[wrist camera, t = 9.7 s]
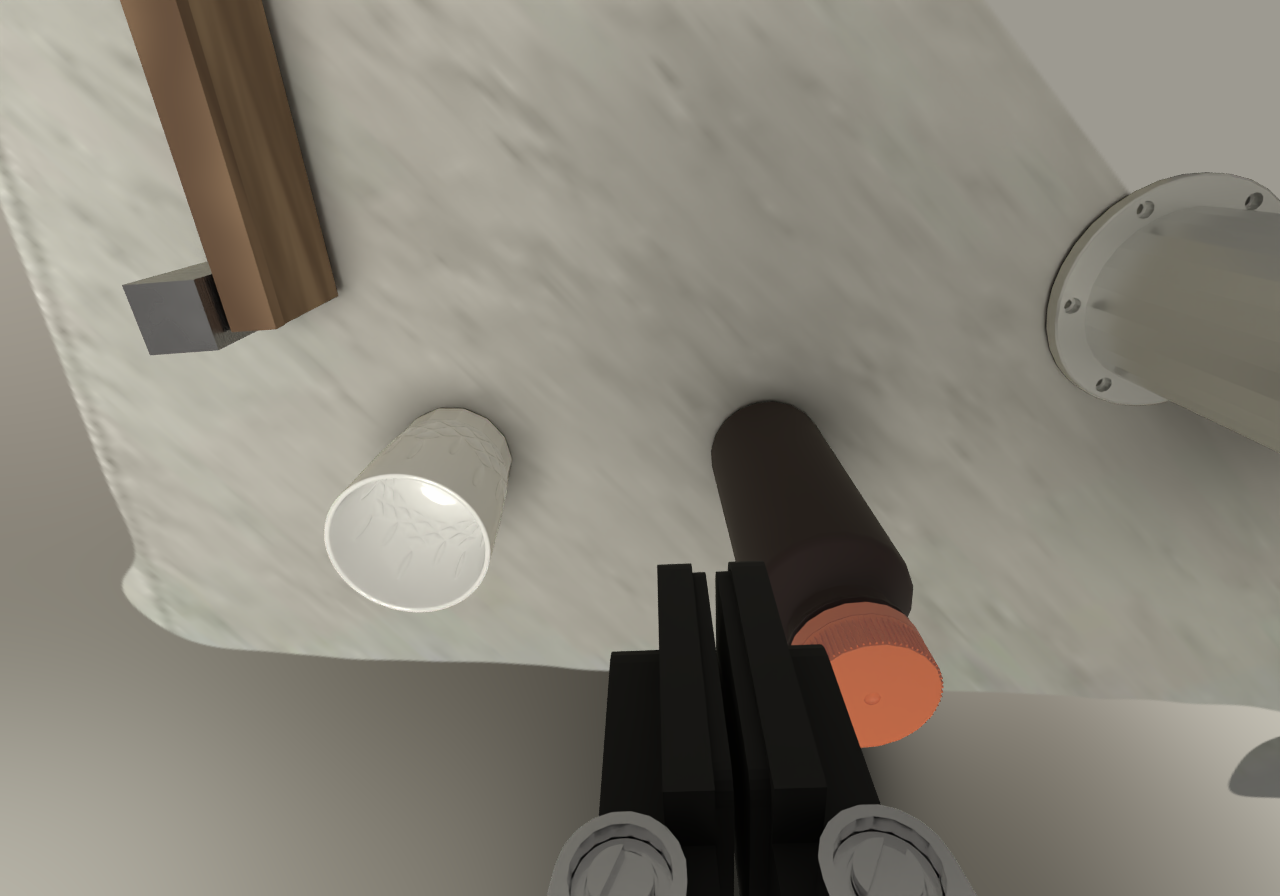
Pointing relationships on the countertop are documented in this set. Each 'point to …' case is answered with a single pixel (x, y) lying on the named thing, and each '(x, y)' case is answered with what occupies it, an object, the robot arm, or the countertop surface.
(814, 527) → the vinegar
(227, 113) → the brown wooden board
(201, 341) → the post
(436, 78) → the countertop surface
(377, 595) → the white cup
